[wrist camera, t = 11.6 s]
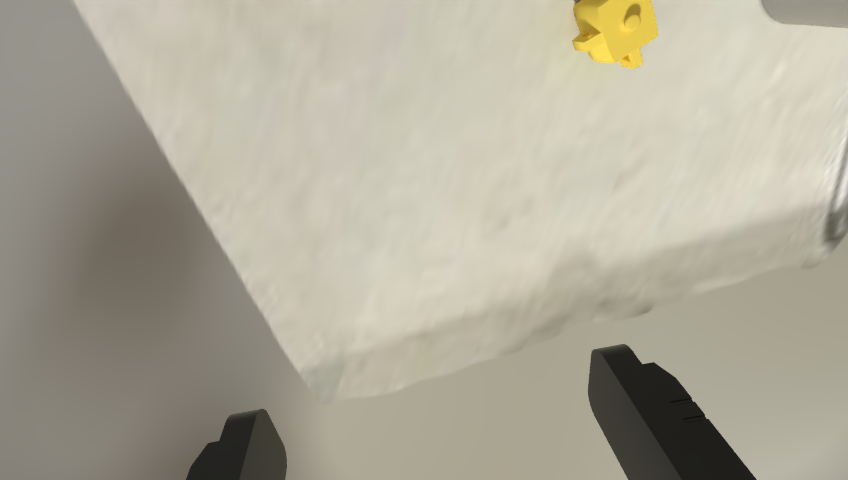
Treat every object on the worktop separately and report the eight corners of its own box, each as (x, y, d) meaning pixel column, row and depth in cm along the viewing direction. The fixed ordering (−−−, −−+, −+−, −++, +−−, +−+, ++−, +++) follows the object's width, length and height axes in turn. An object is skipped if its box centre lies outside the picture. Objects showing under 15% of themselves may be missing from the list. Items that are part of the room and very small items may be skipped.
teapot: (544, -5, 35) (571, -5, 30) (610, -49, 34) (647, -55, 29) (577, 82, 39) (605, 93, 34) (636, 45, 38) (673, 52, 33)
